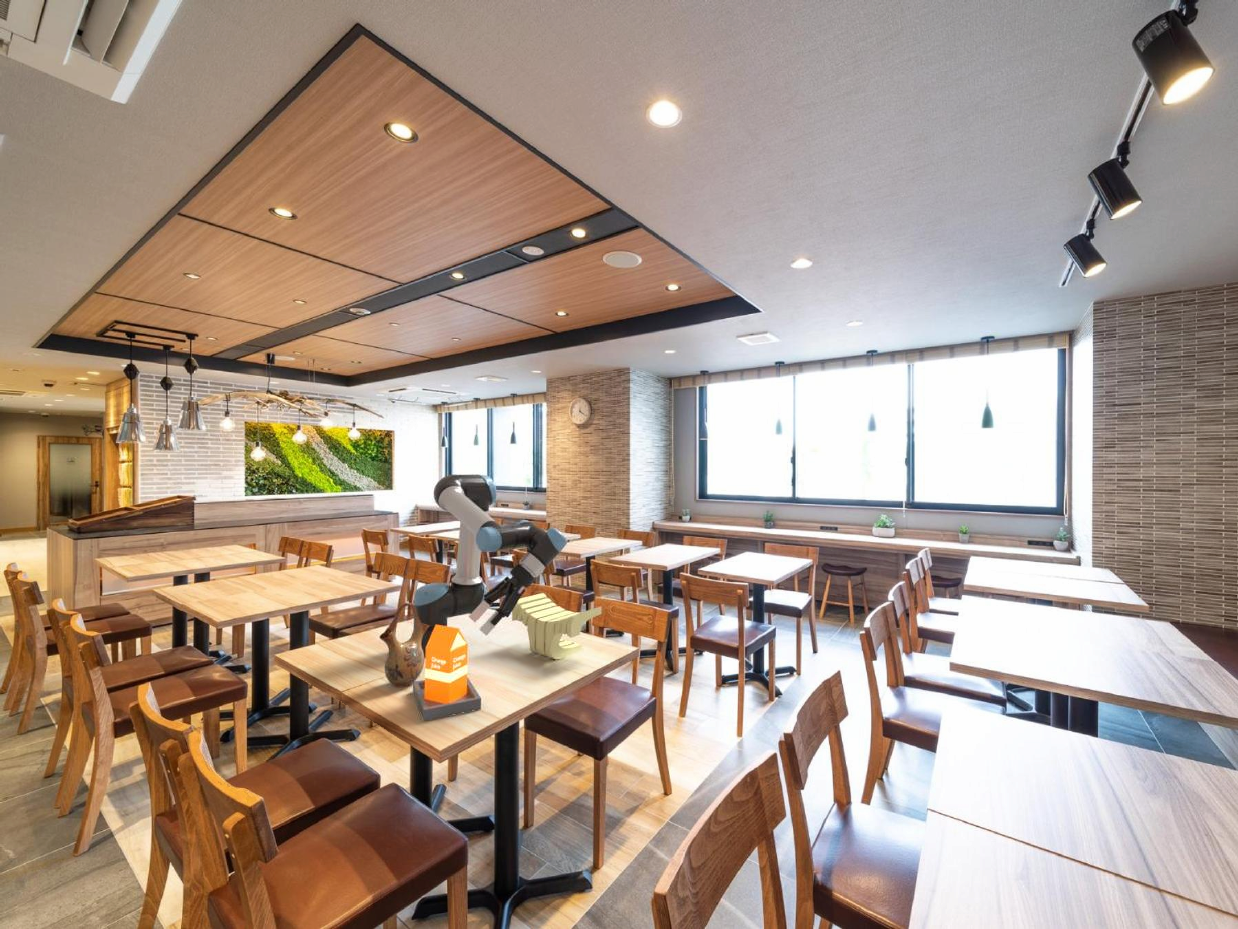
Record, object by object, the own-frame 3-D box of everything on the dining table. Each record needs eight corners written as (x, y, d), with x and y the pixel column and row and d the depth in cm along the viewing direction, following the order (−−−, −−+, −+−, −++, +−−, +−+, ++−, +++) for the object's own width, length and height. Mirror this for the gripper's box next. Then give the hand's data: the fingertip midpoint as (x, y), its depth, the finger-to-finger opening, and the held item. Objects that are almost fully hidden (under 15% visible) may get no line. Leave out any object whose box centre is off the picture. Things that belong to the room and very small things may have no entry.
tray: (412, 692, 150) (413, 682, 150) (464, 682, 158) (464, 672, 158) (423, 721, 133) (423, 710, 133) (480, 709, 140) (481, 698, 141)
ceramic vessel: (388, 697, 146) (390, 610, 147) (370, 689, 151) (372, 605, 152) (436, 679, 160) (438, 599, 161) (418, 672, 165) (420, 595, 166)
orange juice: (443, 688, 151) (444, 621, 151) (467, 693, 148) (468, 624, 148) (423, 699, 144) (425, 628, 144) (448, 705, 140) (450, 632, 141)
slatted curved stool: (511, 648, 189) (512, 600, 189) (542, 637, 202) (543, 593, 202) (570, 668, 171) (571, 615, 171) (600, 655, 183) (601, 606, 184)
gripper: (549, 587, 147) (497, 646, 140) (522, 571, 169) (475, 622, 162) (532, 570, 145) (478, 630, 137) (507, 556, 167) (459, 607, 159)
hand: (476, 626), depth 150 cm, fingers open, 13 cm apart
